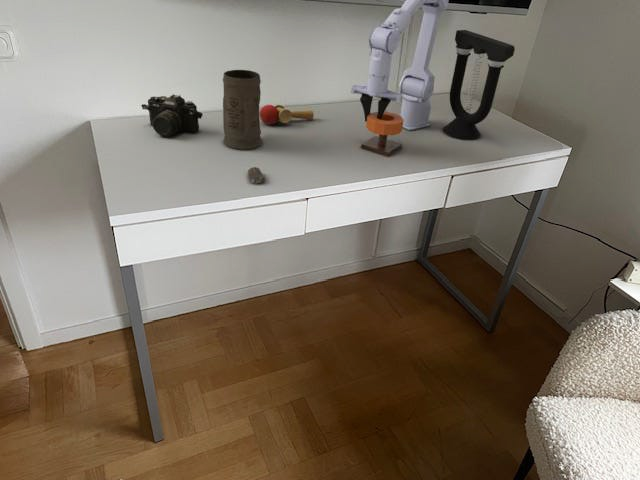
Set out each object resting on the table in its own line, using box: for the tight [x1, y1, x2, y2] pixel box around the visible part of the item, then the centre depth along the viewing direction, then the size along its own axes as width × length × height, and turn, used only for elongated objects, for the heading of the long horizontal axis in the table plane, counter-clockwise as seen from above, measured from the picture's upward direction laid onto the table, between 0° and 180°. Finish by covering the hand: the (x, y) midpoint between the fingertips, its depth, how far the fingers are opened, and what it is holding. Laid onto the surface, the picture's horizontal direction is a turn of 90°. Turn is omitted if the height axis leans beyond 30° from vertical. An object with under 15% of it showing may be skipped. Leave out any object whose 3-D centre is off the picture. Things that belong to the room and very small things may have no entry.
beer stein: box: [222, 69, 262, 151], centre depth 139 cm, size 15×11×20 cm
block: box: [247, 166, 266, 185], centre depth 124 cm, size 4×6×2 cm, turn 20°
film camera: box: [140, 93, 203, 138], centre depth 143 cm, size 18×12×10 cm
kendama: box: [259, 104, 314, 126], centre depth 158 cm, size 8×6×18 cm
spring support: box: [442, 29, 516, 141], centre depth 154 cm, size 21×12×30 cm, turn 29°
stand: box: [360, 134, 403, 157], centre depth 146 cm, size 9×9×6 cm
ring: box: [365, 111, 404, 136], centre depth 143 cm, size 10×10×3 cm
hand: (372, 121), depth 145 cm, fingers closed on ring, 3 cm apart
